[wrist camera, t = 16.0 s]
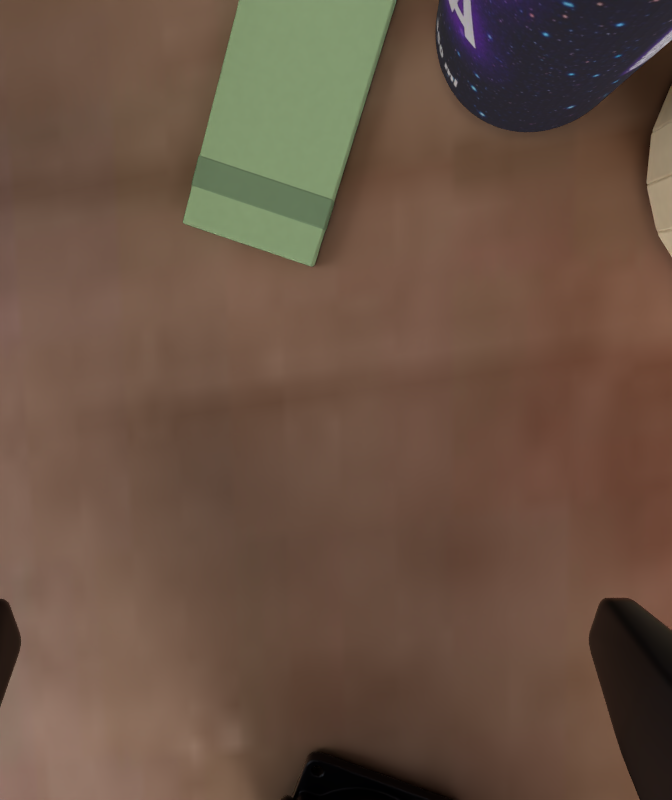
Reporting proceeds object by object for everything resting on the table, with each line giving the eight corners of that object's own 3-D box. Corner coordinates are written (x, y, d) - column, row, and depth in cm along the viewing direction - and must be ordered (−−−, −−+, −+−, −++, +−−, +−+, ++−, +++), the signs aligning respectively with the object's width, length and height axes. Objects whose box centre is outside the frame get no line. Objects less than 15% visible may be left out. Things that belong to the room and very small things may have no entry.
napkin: (453, -178, 16) (455, -196, 16) (314, 267, 19) (312, 267, 18) (302, -225, 16) (299, -244, 16) (187, 224, 19) (180, 222, 19)
